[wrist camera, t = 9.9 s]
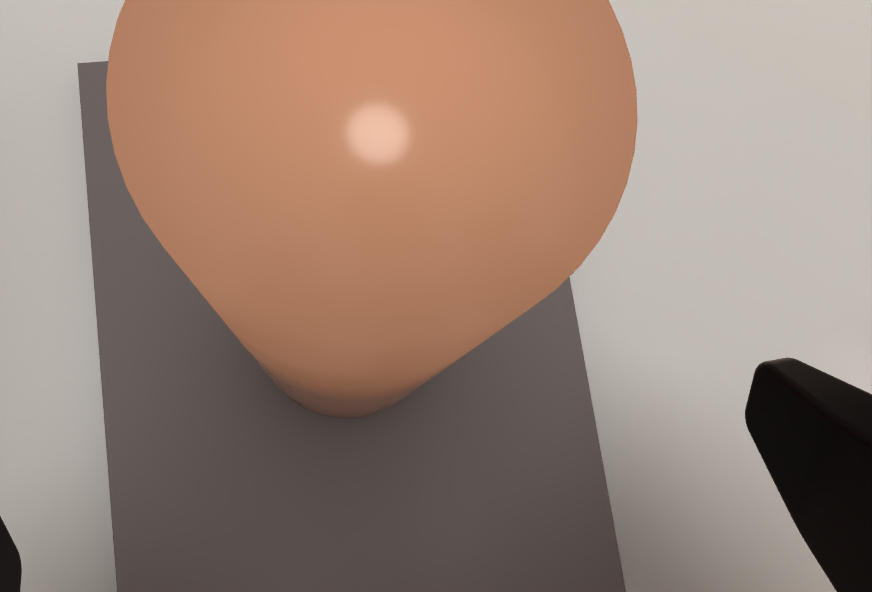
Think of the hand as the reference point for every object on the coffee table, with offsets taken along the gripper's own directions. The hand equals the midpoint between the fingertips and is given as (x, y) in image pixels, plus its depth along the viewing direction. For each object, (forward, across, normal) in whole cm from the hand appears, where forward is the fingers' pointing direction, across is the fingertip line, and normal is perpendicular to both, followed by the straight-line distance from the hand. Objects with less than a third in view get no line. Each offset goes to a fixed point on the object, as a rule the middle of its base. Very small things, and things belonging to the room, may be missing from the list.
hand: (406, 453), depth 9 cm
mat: (+9, 0, +4) cm, 10 cm away
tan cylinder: (+8, 0, +4) cm, 9 cm away
